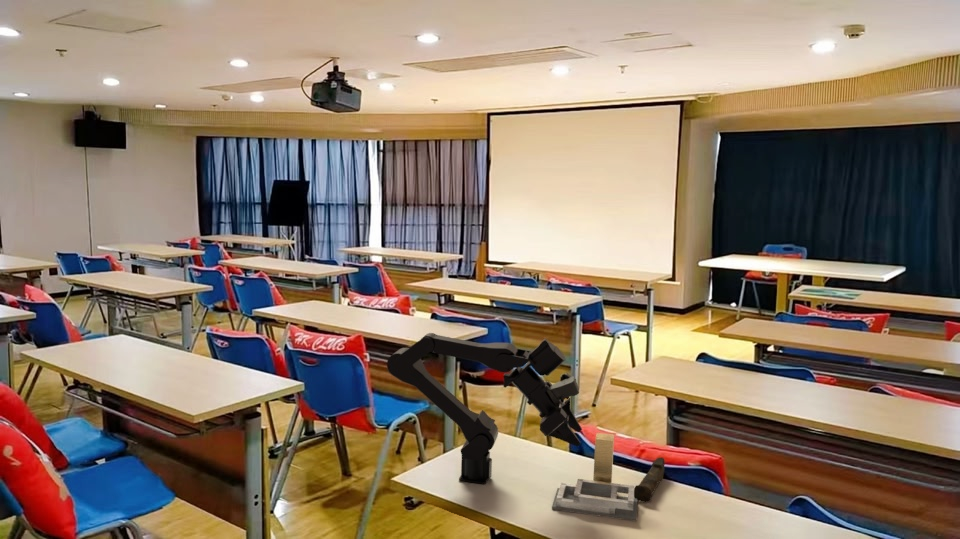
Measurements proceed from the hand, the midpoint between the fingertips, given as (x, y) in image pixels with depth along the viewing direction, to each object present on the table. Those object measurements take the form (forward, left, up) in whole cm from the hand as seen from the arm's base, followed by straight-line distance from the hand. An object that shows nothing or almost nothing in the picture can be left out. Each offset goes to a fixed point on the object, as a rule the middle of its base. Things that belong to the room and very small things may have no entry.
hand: (579, 437), depth 154 cm
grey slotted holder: (+5, -7, -12) cm, 15 cm away
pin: (+6, 0, -12) cm, 13 cm away
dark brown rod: (+16, +6, -13) cm, 22 cm away
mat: (+5, -7, -12) cm, 15 cm away
